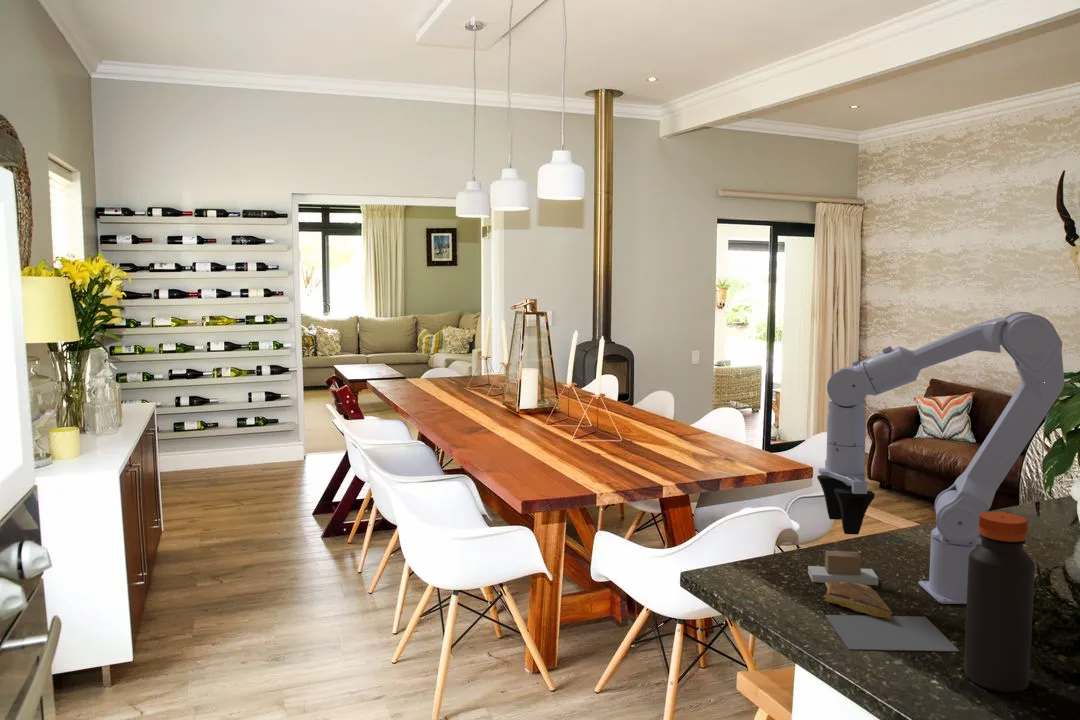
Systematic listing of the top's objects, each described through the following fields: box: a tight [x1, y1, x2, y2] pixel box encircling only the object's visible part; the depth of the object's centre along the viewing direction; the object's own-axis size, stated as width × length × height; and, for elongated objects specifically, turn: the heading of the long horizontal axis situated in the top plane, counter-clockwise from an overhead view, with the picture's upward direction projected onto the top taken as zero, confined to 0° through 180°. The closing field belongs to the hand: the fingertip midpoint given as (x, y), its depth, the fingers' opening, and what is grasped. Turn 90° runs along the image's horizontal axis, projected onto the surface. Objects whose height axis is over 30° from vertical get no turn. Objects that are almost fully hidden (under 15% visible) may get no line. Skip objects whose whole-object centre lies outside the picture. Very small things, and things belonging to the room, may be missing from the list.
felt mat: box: [824, 614, 961, 653], centre depth 106 cm, size 14×10×1 cm
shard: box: [824, 582, 894, 620], centre depth 115 cm, size 11×8×2 cm
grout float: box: [807, 550, 879, 586], centre depth 126 cm, size 10×4×4 cm, turn 80°
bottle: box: [963, 511, 1036, 693], centre depth 93 cm, size 7×7×20 cm
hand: (843, 526), depth 125 cm, fingers open, 7 cm apart
